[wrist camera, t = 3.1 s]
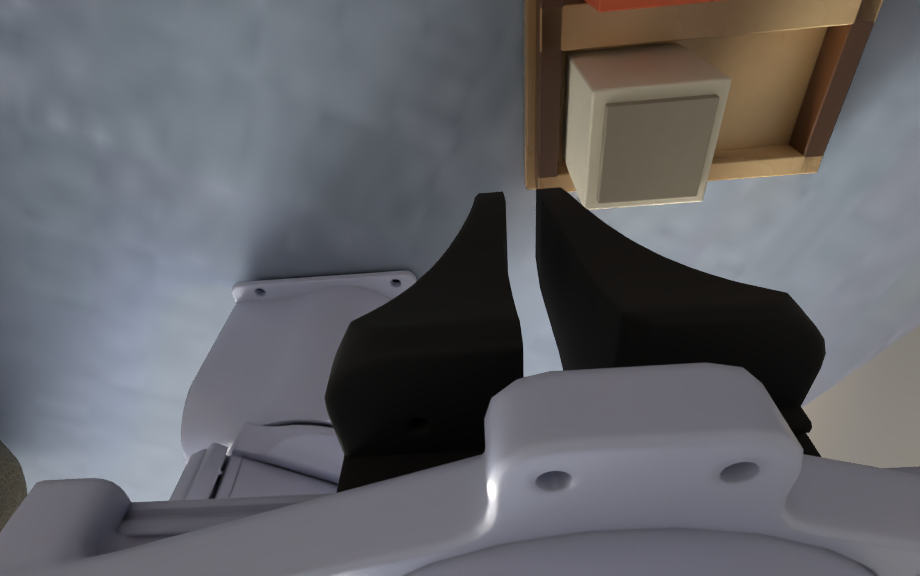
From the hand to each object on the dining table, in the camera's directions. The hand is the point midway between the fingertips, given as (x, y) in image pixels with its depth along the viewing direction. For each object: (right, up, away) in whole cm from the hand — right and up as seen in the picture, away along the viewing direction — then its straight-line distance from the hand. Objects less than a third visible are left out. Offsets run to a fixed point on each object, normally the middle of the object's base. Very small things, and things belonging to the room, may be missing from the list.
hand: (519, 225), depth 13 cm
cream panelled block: (+4, +6, +7) cm, 10 cm away
